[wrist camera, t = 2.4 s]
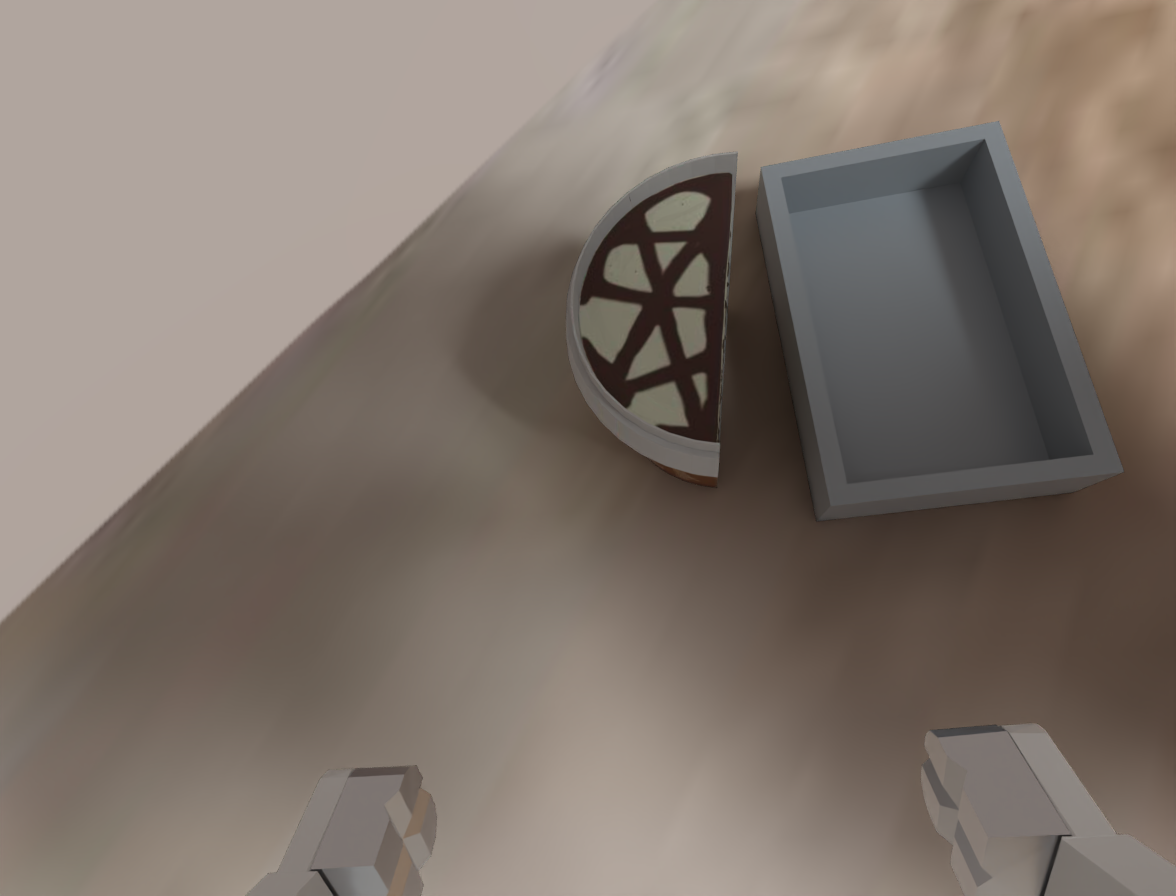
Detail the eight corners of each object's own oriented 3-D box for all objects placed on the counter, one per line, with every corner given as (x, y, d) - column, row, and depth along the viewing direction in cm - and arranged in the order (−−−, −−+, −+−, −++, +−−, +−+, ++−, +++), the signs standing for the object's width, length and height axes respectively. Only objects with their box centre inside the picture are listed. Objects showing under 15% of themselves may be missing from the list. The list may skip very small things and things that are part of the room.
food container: (612, 283, 34) (575, 145, 24) (729, 283, 33) (738, 139, 23) (585, 508, 31) (531, 450, 21) (715, 519, 29) (719, 461, 20)
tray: (968, 174, 32) (998, 121, 29) (1072, 492, 27) (1124, 472, 24) (755, 213, 33) (761, 167, 30) (816, 521, 28) (830, 505, 25)
